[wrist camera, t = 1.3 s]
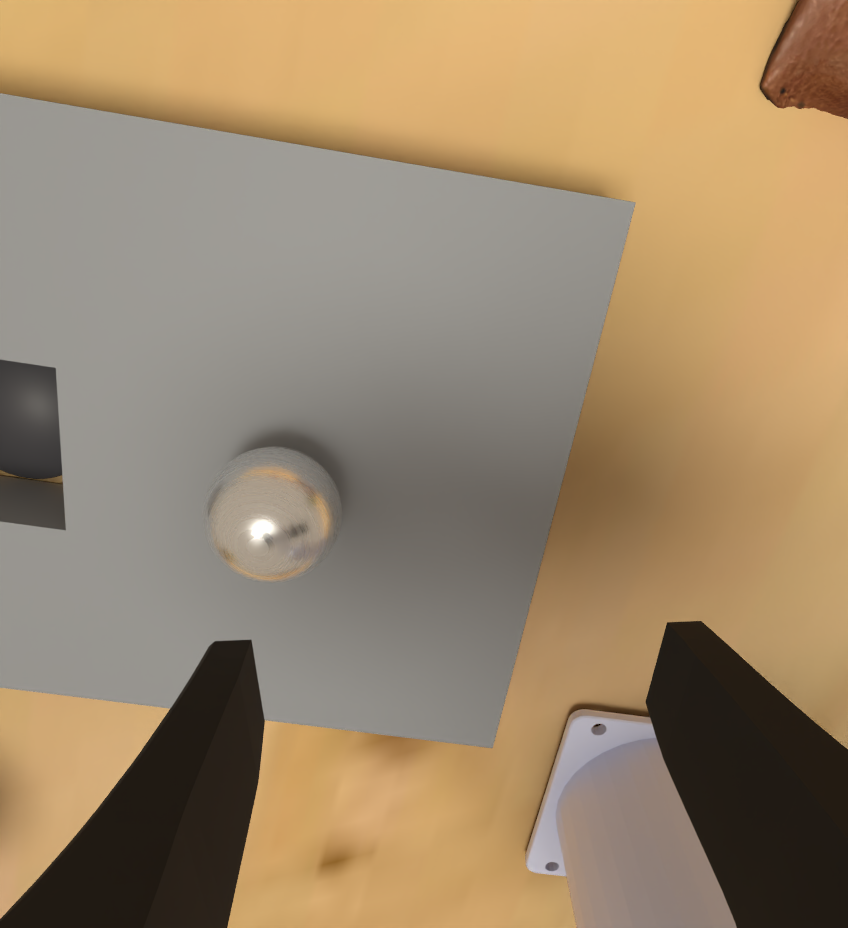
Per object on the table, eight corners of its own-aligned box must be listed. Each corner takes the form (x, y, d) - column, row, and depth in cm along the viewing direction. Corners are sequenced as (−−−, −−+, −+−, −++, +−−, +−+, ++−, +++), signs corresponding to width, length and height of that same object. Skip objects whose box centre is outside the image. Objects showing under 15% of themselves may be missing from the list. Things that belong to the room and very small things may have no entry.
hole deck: (607, 200, 17) (635, 202, 14) (486, 691, 23) (492, 748, 21) (-217, 58, 16) (-329, 36, 13) (-110, 615, 22) (-174, 666, 19)
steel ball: (355, 437, 17) (340, 492, 14) (342, 547, 18) (325, 619, 15) (227, 418, 16) (183, 469, 13) (222, 531, 18) (182, 600, 15)
